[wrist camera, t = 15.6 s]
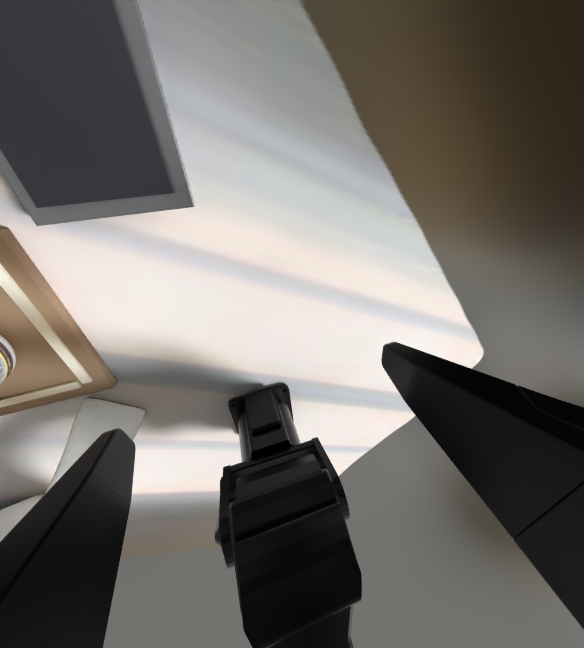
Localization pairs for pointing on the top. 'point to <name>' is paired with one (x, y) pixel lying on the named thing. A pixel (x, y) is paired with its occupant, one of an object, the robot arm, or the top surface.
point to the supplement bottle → (6, 359)
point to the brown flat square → (41, 338)
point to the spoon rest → (79, 446)
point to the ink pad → (84, 113)
